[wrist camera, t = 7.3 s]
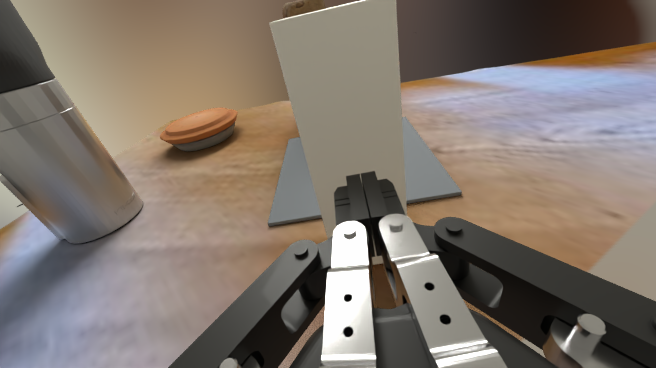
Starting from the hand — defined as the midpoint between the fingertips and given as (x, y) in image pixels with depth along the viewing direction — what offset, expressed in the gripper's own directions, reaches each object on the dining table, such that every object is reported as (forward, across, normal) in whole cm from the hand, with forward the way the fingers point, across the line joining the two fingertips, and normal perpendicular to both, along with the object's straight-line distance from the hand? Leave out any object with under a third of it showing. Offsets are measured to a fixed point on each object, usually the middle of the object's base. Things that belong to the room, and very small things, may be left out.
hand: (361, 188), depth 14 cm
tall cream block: (+6, 0, +10) cm, 12 cm away
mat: (+21, 0, +10) cm, 24 cm away
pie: (+42, +29, +10) cm, 52 cm away
